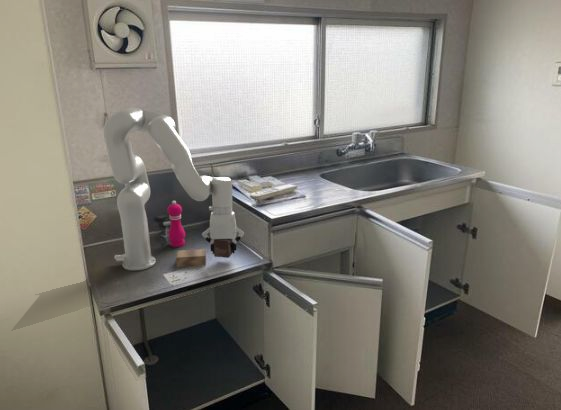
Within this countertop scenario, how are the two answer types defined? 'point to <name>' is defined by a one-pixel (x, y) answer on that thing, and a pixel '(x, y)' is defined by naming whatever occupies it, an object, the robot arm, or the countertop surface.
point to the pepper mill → (176, 225)
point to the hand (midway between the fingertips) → (223, 252)
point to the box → (223, 247)
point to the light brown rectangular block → (191, 258)
